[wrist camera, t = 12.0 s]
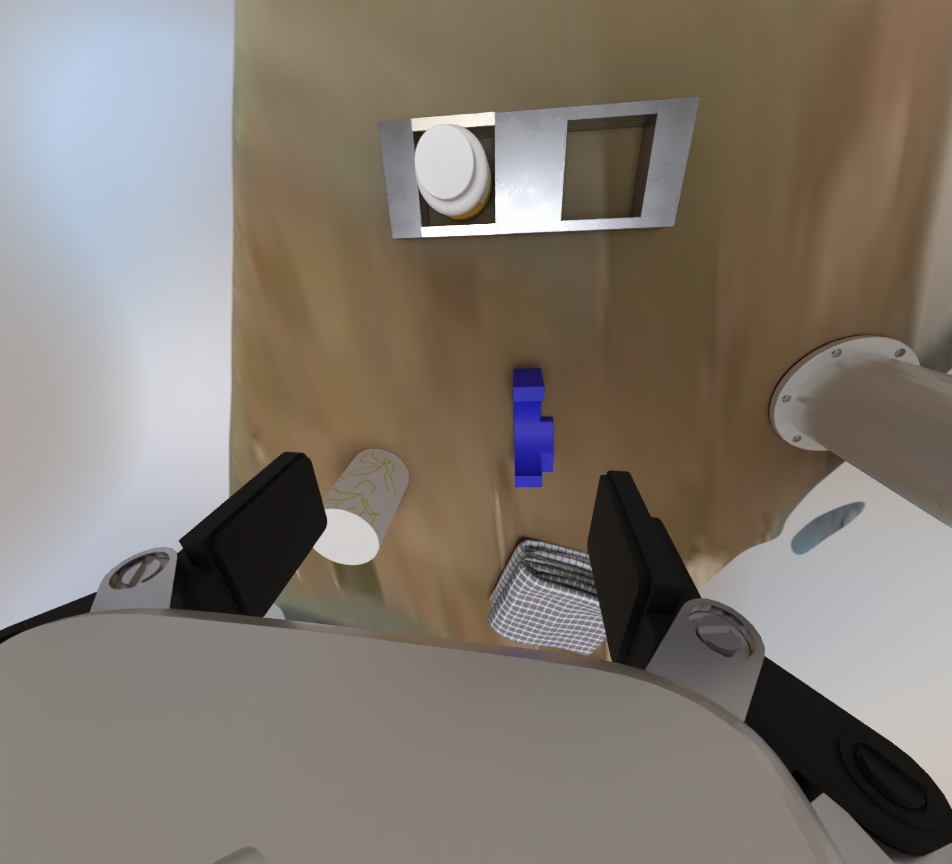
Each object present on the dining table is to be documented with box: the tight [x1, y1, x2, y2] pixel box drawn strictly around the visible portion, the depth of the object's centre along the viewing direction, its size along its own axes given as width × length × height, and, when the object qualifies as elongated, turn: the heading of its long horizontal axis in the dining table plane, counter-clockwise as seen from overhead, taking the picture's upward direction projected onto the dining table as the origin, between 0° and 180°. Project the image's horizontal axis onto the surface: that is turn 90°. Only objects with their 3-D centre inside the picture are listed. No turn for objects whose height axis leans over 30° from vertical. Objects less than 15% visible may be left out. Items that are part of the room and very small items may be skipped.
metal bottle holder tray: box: [378, 97, 700, 239], centre depth 29 cm, size 24×8×3 cm, turn 92°
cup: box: [313, 449, 409, 565], centre depth 42 cm, size 8×8×12 cm
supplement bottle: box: [415, 124, 492, 221], centre depth 27 cm, size 5×5×10 cm
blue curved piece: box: [513, 368, 554, 487], centre depth 38 cm, size 12×4×6 cm, turn 4°
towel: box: [487, 539, 606, 655], centre depth 51 cm, size 15×18×8 cm
